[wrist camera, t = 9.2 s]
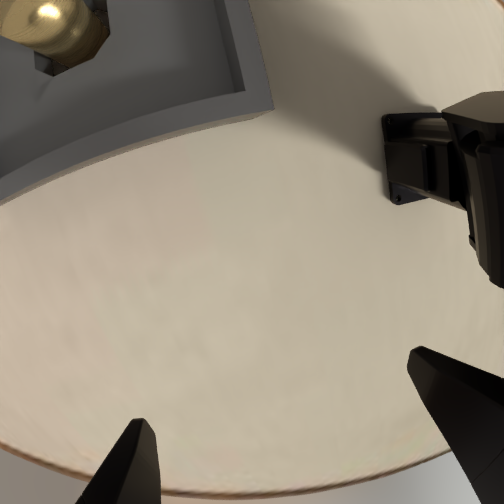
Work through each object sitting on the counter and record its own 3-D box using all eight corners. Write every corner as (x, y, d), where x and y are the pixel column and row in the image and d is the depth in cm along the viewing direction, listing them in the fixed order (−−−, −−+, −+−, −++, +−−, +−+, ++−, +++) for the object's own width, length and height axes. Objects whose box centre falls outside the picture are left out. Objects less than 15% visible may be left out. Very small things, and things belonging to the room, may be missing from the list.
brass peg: (106, 14, 12) (61, -45, 5) (112, 56, 13) (59, 9, 6) (59, 35, 12) (-5, -6, 4) (63, 77, 13) (-9, 50, 6)
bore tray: (204, -71, 10) (209, -117, 5) (251, 119, 16) (274, 109, 11) (-18, 20, 9) (-57, 5, 4) (1, 205, 15) (-46, 228, 10)
